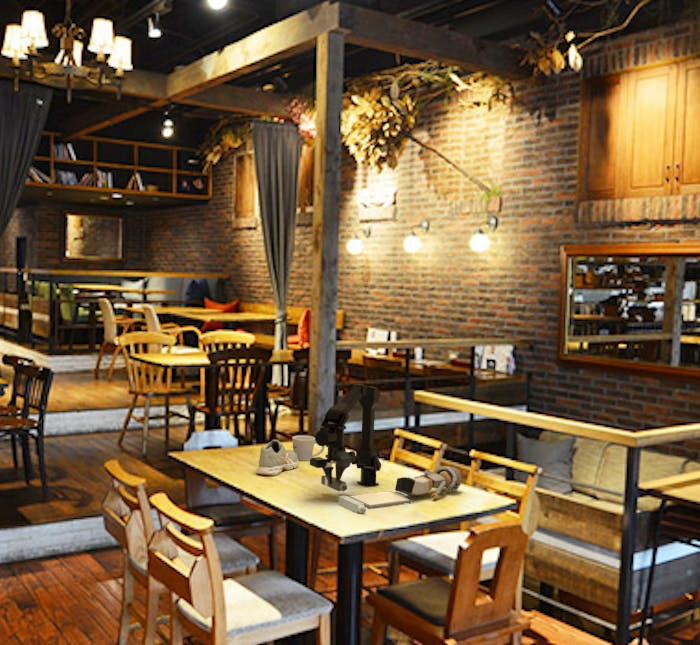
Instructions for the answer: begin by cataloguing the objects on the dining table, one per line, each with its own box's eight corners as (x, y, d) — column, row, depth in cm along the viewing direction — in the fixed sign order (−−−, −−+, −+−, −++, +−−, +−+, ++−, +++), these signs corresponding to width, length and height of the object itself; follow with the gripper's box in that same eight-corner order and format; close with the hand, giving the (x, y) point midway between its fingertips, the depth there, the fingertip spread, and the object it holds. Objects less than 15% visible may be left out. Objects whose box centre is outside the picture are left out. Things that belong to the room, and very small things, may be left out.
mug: (292, 456, 372) (293, 434, 371) (324, 458, 371) (325, 436, 371) (289, 461, 361) (290, 439, 361) (323, 463, 361) (324, 440, 360)
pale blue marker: (338, 504, 294) (338, 496, 294) (345, 503, 296) (345, 495, 296) (360, 515, 282) (360, 506, 282) (367, 514, 284) (367, 505, 284)
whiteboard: (369, 508, 290) (369, 503, 290) (346, 498, 303) (346, 493, 302) (413, 502, 301) (414, 498, 301) (389, 493, 314) (390, 488, 313)
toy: (416, 506, 298) (468, 498, 318) (421, 477, 297) (473, 471, 317) (389, 494, 308) (441, 487, 329) (394, 465, 307) (445, 460, 328)
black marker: (321, 483, 307) (321, 475, 307) (328, 482, 309) (328, 474, 309) (341, 492, 295) (342, 484, 295) (348, 491, 297) (349, 483, 297)
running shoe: (304, 464, 357) (305, 433, 356) (278, 479, 329) (279, 445, 328) (280, 461, 360) (281, 431, 360) (253, 475, 332) (254, 443, 331)
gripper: (325, 448, 290) (323, 491, 291) (368, 444, 300) (366, 486, 301) (309, 442, 299) (308, 484, 300) (352, 439, 309) (350, 479, 310)
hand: (333, 483), depth 302 cm, fingers closed on black marker, 3 cm apart
